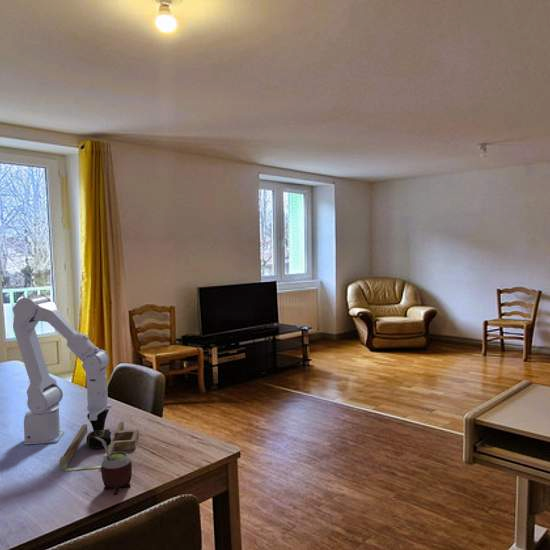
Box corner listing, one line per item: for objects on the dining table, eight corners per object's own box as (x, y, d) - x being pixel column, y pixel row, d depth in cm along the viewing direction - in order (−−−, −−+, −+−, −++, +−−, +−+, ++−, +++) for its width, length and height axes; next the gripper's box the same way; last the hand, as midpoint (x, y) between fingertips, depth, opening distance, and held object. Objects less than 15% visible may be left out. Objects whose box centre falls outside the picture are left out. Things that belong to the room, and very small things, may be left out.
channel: (58, 471, 122) (58, 461, 122) (82, 432, 148) (82, 423, 148) (130, 465, 125) (130, 455, 125) (141, 427, 151) (141, 419, 151)
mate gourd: (134, 479, 118) (132, 421, 117) (129, 496, 110) (127, 434, 109) (103, 482, 116) (101, 423, 115) (96, 499, 109) (94, 436, 108)
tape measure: (111, 448, 136) (111, 436, 135) (86, 452, 133) (85, 439, 133) (111, 439, 142) (111, 427, 142) (87, 442, 140) (86, 430, 140)
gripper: (106, 398, 135) (108, 443, 136) (115, 383, 149) (116, 424, 150) (80, 399, 133) (82, 446, 134) (92, 384, 148) (93, 426, 149)
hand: (99, 435), depth 142 cm, fingers closed
